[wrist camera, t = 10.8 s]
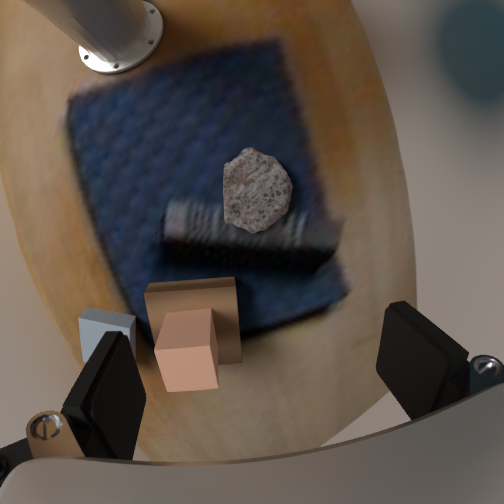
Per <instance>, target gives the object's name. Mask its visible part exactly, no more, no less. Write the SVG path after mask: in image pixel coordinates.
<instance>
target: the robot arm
mask: <svg viewBox="0 0 504 504" xmlns="http://www.w3.org/2000/svg"><path fill="white" fill-rule="evenodd" d="M22 1H23V2H25V3H27V4H28V5H30V6H31V7H32V8H34V9H35V10H37V11H38V12H39V13H40V14H42V15H43V16H44V17H45V18H47V19H48V20H49V21H50V22H52V23H53V24H54V25H55V26H57V27H58V28H59V29H60V30H61V31H63V32H64V33H65V34H66V35H68V36H69V37H70V38H71V39H72V40H74V41H75V42H76V43H77V44H78V45H79V54H80V58H81V60H82V61H83V63H84V64H85V65H86V66H87V67H88V68H90V69H91V70H93V71H95V72H97V73H102V74H115V73H120V72H123V71H126V70H129V69H131V68H133V67H135V66H137V65H138V64H139V63H141V62H142V61H144V60H145V59H146V58H147V57H148V56H149V55H150V54H151V53H152V52H153V51H154V50H155V48H156V47H157V45H158V43H159V42H160V39H161V37H162V34H163V28H164V27H163V19H162V16H161V14H160V12H159V10H158V9H157V8H156V7H155V6H154V5H152V4H151V3H149V2H146V1H143V0H22ZM152 43H153V44H152ZM151 44H152V45H151ZM117 67H118V68H117ZM468 355H469V352H468V351H467V350H465V349H464V348H463V347H462V346H461V345H459V344H458V343H457V342H456V341H455V340H453V339H452V338H451V337H450V336H448V335H447V334H446V333H445V332H444V331H442V330H441V329H440V328H438V327H437V326H436V325H435V324H434V323H432V322H431V321H430V320H429V319H427V318H426V317H425V316H424V315H422V314H421V313H420V312H419V311H417V310H416V309H415V308H413V307H412V306H411V305H410V304H408V303H407V302H406V301H399V302H394V303H391V304H390V305H389V307H388V308H386V310H385V315H384V322H383V328H382V334H381V340H380V346H379V352H378V357H377V362H376V371H377V373H378V375H379V376H380V377H381V379H382V380H383V382H384V383H385V384H386V386H387V387H388V388H389V390H390V391H391V392H392V394H393V395H394V396H395V398H396V399H397V401H398V402H399V403H400V405H401V406H402V408H403V409H404V410H405V412H406V413H407V415H408V416H409V417H410V419H411V421H409V422H406V423H403V424H400V425H397V426H394V427H392V428H388V429H385V430H382V431H379V432H376V433H373V434H369V435H366V436H363V437H359V438H355V439H352V440H348V441H344V442H340V443H336V444H332V445H328V446H324V447H319V448H314V449H309V450H304V451H298V452H293V453H287V454H280V455H274V456H266V457H258V458H249V459H239V460H227V461H209V462H152V461H133V460H132V459H133V455H134V450H135V445H136V441H137V437H138V432H139V428H140V424H141V420H142V416H143V411H144V407H145V403H146V393H145V389H144V387H143V384H142V381H141V377H140V374H139V371H138V368H137V365H136V362H135V358H134V355H133V352H132V348H131V345H130V341H129V338H128V336H127V335H124V334H123V332H122V331H106V332H105V333H104V335H103V336H102V338H101V339H100V341H99V343H98V344H97V346H96V348H95V349H94V351H93V353H92V354H91V356H90V358H89V359H88V361H87V363H86V365H85V366H84V368H83V370H82V371H81V373H80V375H79V377H78V378H77V380H76V382H75V384H74V386H73V387H72V389H71V391H70V393H69V395H68V397H67V398H66V400H65V402H64V404H63V408H62V410H61V412H60V413H59V412H56V411H44V412H40V413H38V414H36V415H35V416H33V417H32V418H31V419H30V421H29V422H28V423H27V426H26V435H27V438H24V439H22V440H20V441H18V442H15V443H13V444H10V445H8V446H6V447H3V448H1V449H0V504H504V365H503V364H502V362H501V361H500V360H498V359H497V358H495V357H493V356H489V355H479V356H475V357H473V358H472V360H471V361H470V363H469V362H468V361H467V358H468Z"/></svg>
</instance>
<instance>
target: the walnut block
mask: <svg viewBox="0 0 504 504" xmlns="http://www.w3.org/2000/svg"><path fill="white" fill-rule="evenodd" d="M144 297H145V302H146V307H147V312H148V317H149V321H150V326H151V330H152V335H153V339H154V343H155V346H156V343H157V339H158V336H159V333H160V330H161V328H162V325H163V322H164V319H165V316H166V313H171V312H181V311H191V310H200V309H209V308H211V310H212V316H213V322H214V327H215V333H216V339H217V344H218V365H221V364H234V363H242V353H241V342H240V330H239V319H238V307H237V295H236V284H235V277H225V278H212V279H200V280H187V281H173V282H159V283H149V285H148V286H147V288H146V290H145V292H144Z"/></svg>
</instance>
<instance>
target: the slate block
mask: <svg viewBox="0 0 504 504" xmlns="http://www.w3.org/2000/svg"><path fill="white" fill-rule="evenodd" d="M79 329H80V339H81V348H82V355H83V362H86V363H87V361H88V359H89V358H90V356H91V354H92V353H93V351H94V349H95V348H96V346H97V344H98V343H99V341H100V339H101V338H102V336H103V335H104V333H105V332H106V331H122V332H123V334H124V335H127V336H128V338H129V341H130V345H131V348H132V352H133V355H134V358H135V360H136V316H132V315H127V314H121V313H116V312H111V311H106V310H101V309H96V308H91V307H87V308H86V309H85V310H84V312H83V313H82V314H81V315H80V316H79Z"/></svg>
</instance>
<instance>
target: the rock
mask: <svg viewBox="0 0 504 504" xmlns="http://www.w3.org/2000/svg"><path fill="white" fill-rule="evenodd" d="M292 188H293V185H292V183H291V180H290V177H289V176H288V174H287V172H286V171H285V170H284V168H283V167H282V165H281V164H280V163H278V161H277V160H276V159H275V157H273V156H267V155H265V154H263V153H261V152H258V151H257V150H256V149H254V148H252V147H249V148H246V149H244V150H243V151H242V152H241V153H240V154H239V156H238V157H237V158H235V159H234V160H232V161H231V162H228V163H226V164H225V166H224V177H223V195H224V220H225V224H234V225H235V226H236V227H239V228H244V229H246V230H247V231H249V232H250V233H251V234H254V233H256V232H258V231H261V230H263V231H264V230H266V229H267V228H268V227H269V226H271V225H273V224H274V222H276V221H277V220H278V219H279V218H280V217H282V216H283V215H285V214H286V213H287V212H288V209H289V203H290V201H291V193H292Z"/></svg>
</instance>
